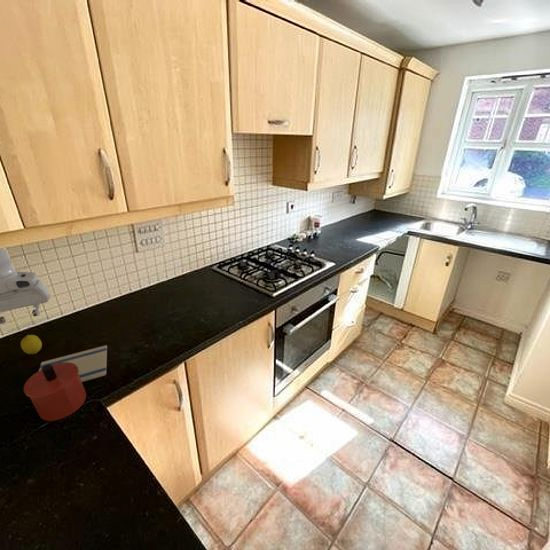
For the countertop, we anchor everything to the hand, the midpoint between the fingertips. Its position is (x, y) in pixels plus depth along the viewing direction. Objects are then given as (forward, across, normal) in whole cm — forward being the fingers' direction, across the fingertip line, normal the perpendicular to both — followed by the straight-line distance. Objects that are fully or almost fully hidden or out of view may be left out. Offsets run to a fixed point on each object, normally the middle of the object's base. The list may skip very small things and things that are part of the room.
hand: (20, 318), depth 101 cm
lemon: (+15, 0, 0) cm, 15 cm away
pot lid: (+5, +12, -30) cm, 33 cm away
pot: (+15, +12, -30) cm, 36 cm away
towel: (+15, +13, -15) cm, 25 cm away
